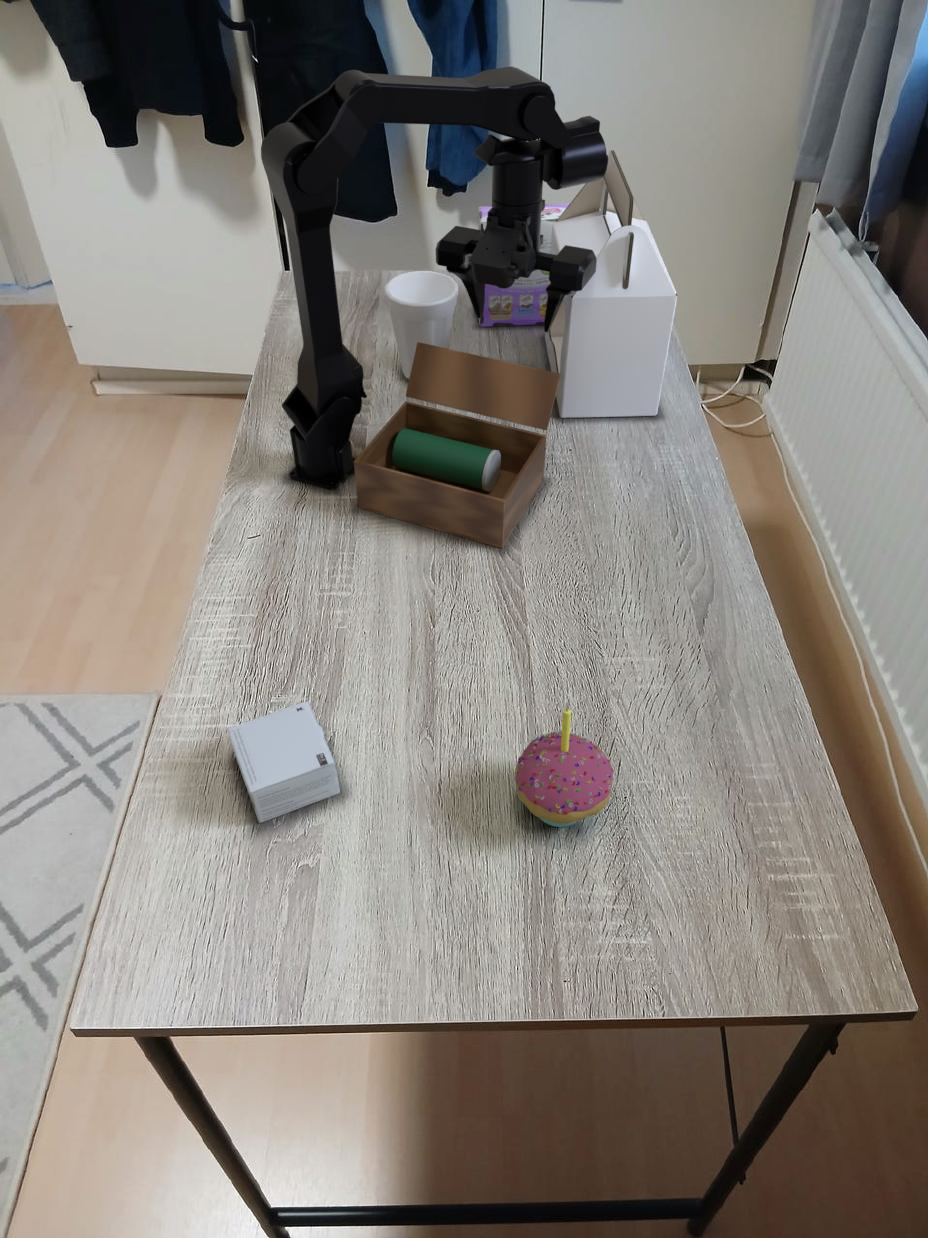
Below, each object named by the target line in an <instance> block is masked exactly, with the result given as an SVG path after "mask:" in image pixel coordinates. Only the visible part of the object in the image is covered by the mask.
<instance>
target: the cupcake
mask: <svg viewBox="0 0 928 1238" xmlns="http://www.w3.org/2000/svg"><path fill="white" fill-rule="evenodd" d="M569 705H570V704H569V702H568V701H566V703H565V709H563V711H562V724H561V730H559V731H558V732H557V731H550V733H549V732H548V733H546V734H544V733H541V734H540V736H537V737H536V739H531V741H530V743H528V744H527V746H526V747H525V749H523V752H522V753H521V755H520V756H519V757H518V760H517V762H516V763H517V764H516V766H515V769H514V783H515V788H516V795H517V796H518V798H519V800H520V801H521V802H522V803H523V804H524V805H525V807H526V808H527V809H528V810H529V812H530V813H531V814H532V815H534V816H535V817H537V818H538V819H540V820H541V822H543V823H545V824H546V825H548V826H549V825H550V826H551V827H558V828H565V827H570V826H573V825H574V824H576V823H578V822H579V821H582V820H585V819H587V818H588V817H592V816H595V815H598V814H599V813H601V812H602V811H603V810H604V809H605V808H606V806H607V804H608V802H609V801H610V798H611V795H612V788H613V784H614V780H613V777H614V770H615V769H614V768H613V766H612V764H611V763H610V760H609V759H608V757H607V756H606V755H605V753H604V752H603V751H602V748H601V747H600V746H599V745H596V744H595V743H593V741H592V740H590V739H588V738H586V737H583V736H581V735H577V734H576V733H573V732H571V719H572V710H571V709H570V708H569V707H570V706H569Z"/></svg>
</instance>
